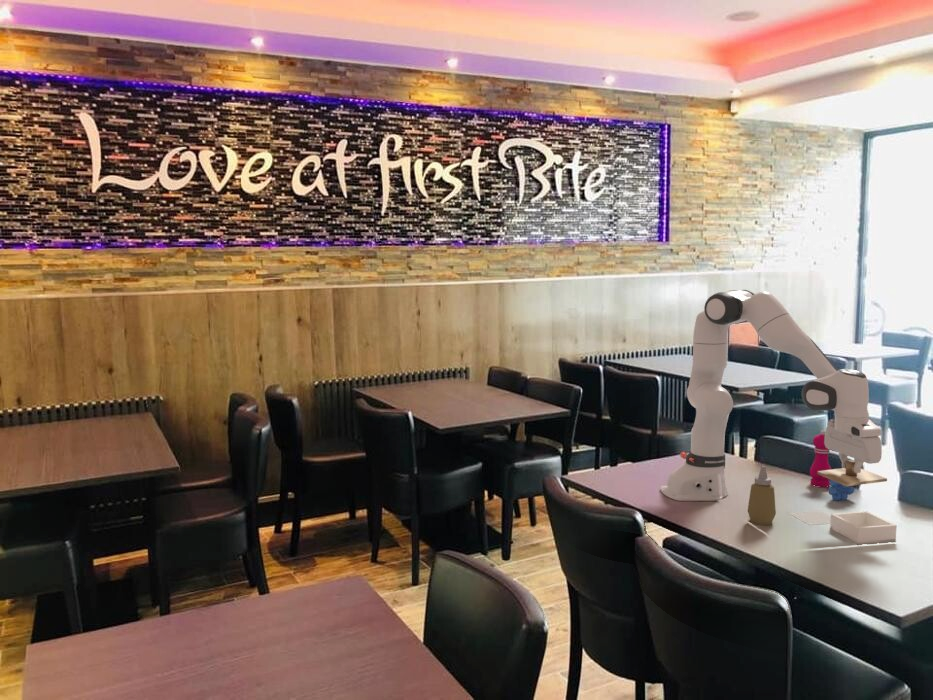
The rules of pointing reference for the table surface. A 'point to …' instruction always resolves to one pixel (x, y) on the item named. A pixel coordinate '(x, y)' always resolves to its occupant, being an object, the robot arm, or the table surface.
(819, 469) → the pepper mill
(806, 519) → the mat
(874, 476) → the lid
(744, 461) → the table surface
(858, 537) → the white open box
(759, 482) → the squeeze bottle
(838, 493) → the grapes
